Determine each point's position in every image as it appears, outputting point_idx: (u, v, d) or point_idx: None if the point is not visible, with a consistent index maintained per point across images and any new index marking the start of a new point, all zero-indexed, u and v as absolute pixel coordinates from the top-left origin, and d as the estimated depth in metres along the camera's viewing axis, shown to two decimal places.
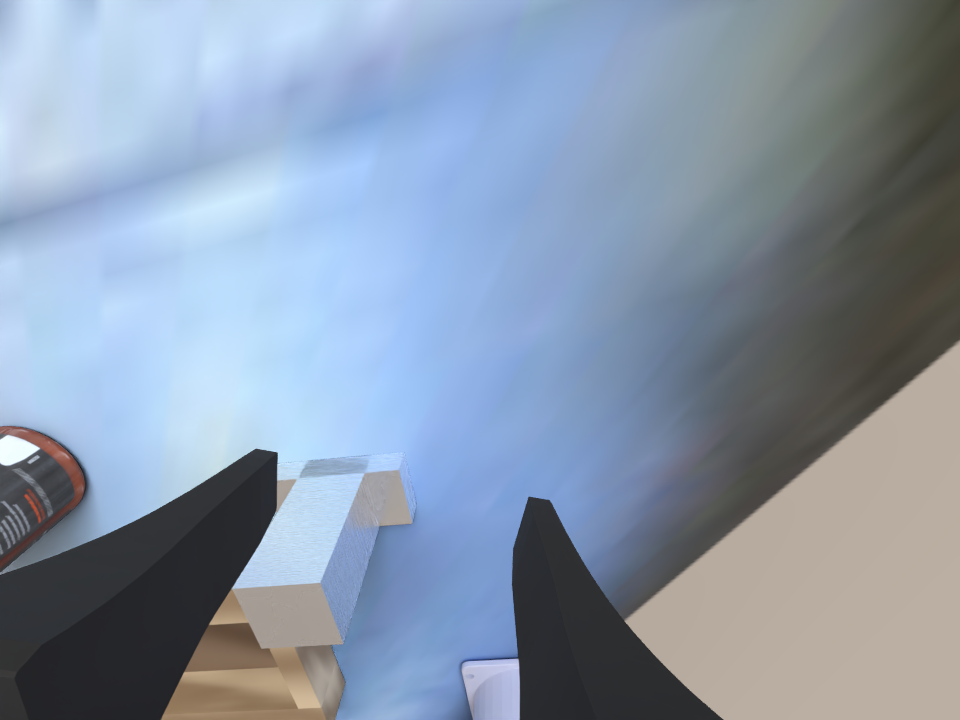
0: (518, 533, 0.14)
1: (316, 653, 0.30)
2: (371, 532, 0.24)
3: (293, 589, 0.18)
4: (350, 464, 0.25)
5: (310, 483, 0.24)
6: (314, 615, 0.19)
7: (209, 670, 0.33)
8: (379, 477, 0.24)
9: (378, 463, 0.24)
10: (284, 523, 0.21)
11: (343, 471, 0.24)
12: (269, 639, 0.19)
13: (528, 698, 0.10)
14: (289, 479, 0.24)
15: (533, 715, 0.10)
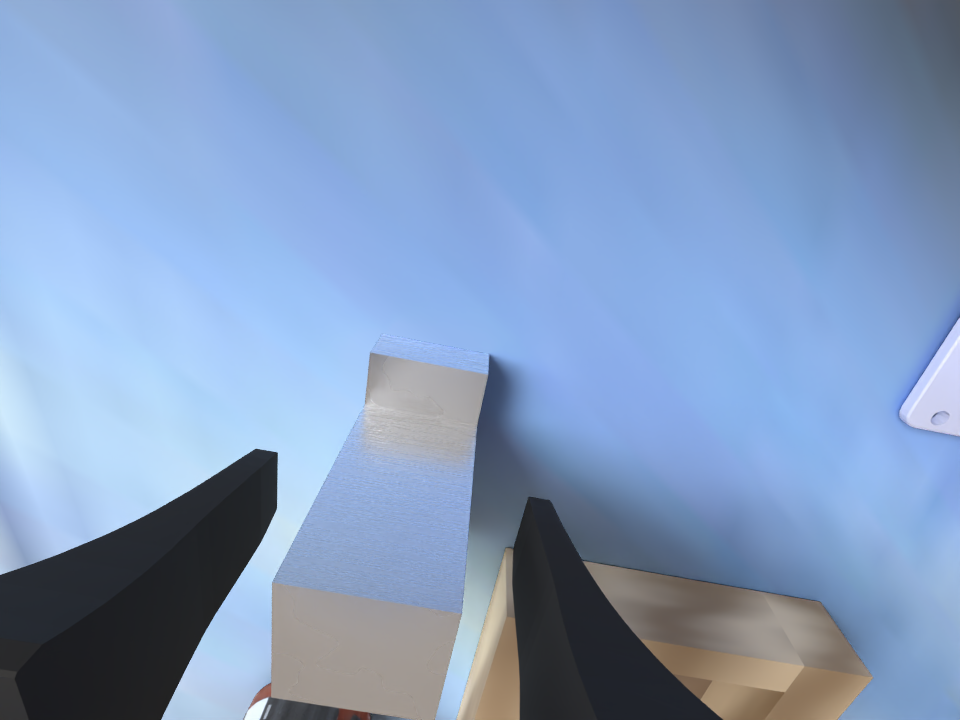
0: (518, 533, 0.14)
1: (705, 614, 0.18)
2: (449, 442, 0.14)
3: (285, 625, 0.09)
4: None
5: None
6: (364, 624, 0.09)
7: None
8: (379, 386, 0.14)
9: None
10: None
11: None
12: (413, 705, 0.10)
13: (528, 698, 0.10)
14: None
15: (533, 715, 0.10)
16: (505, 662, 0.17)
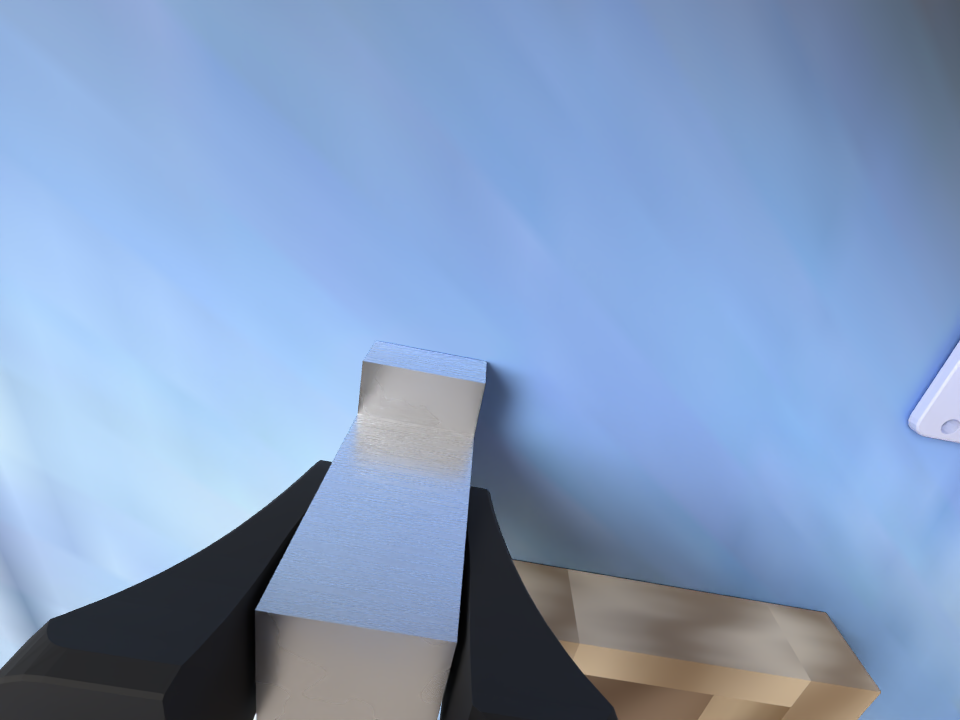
0: None
1: (708, 626, 0.17)
2: (444, 454, 0.13)
3: (269, 654, 0.09)
4: None
5: None
6: (353, 654, 0.08)
7: None
8: (372, 395, 0.14)
9: None
10: None
11: None
12: None
13: (447, 685, 0.10)
14: None
15: (447, 702, 0.10)
16: None
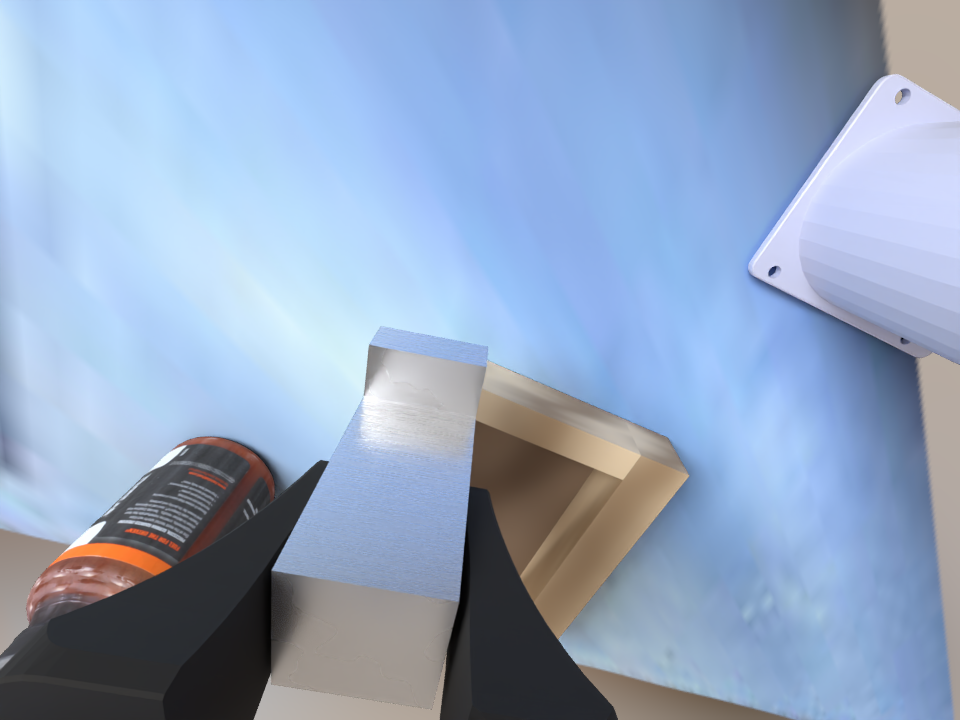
0: None
1: (576, 412, 0.22)
2: (447, 434, 0.14)
3: (284, 612, 0.09)
4: None
5: None
6: (362, 612, 0.09)
7: (539, 544, 0.27)
8: (377, 378, 0.14)
9: None
10: None
11: None
12: (411, 692, 0.10)
13: (447, 685, 0.10)
14: None
15: (447, 702, 0.10)
16: None
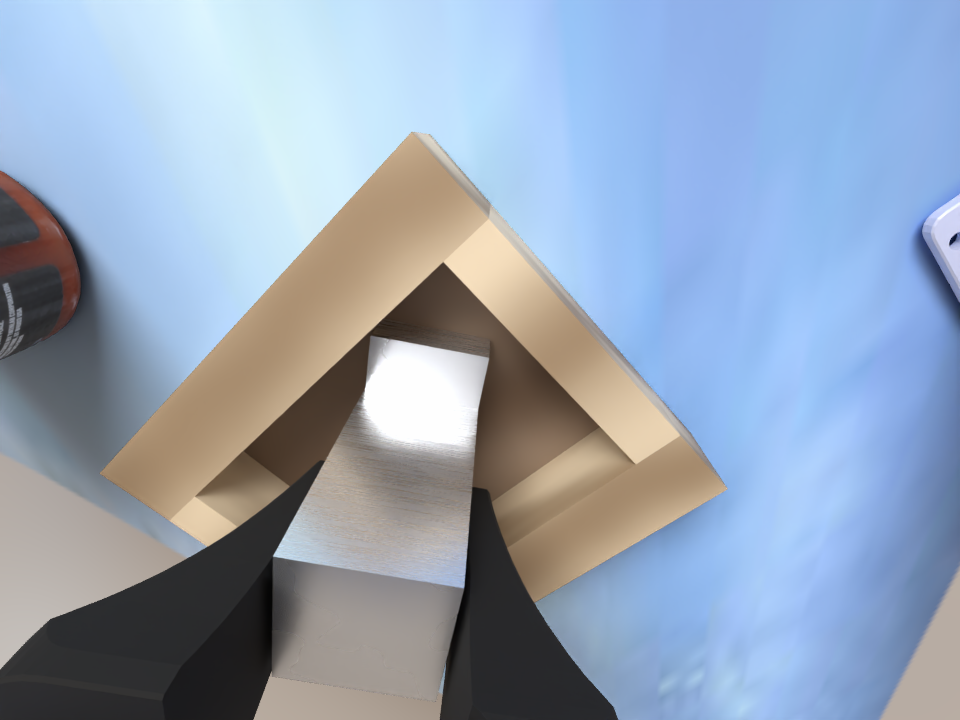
0: None
1: (605, 343, 0.14)
2: (450, 425, 0.13)
3: (285, 601, 0.09)
4: None
5: None
6: (365, 600, 0.09)
7: None
8: (379, 370, 0.14)
9: None
10: None
11: None
12: (415, 684, 0.10)
13: (447, 685, 0.10)
14: None
15: (447, 702, 0.10)
16: (357, 222, 0.11)
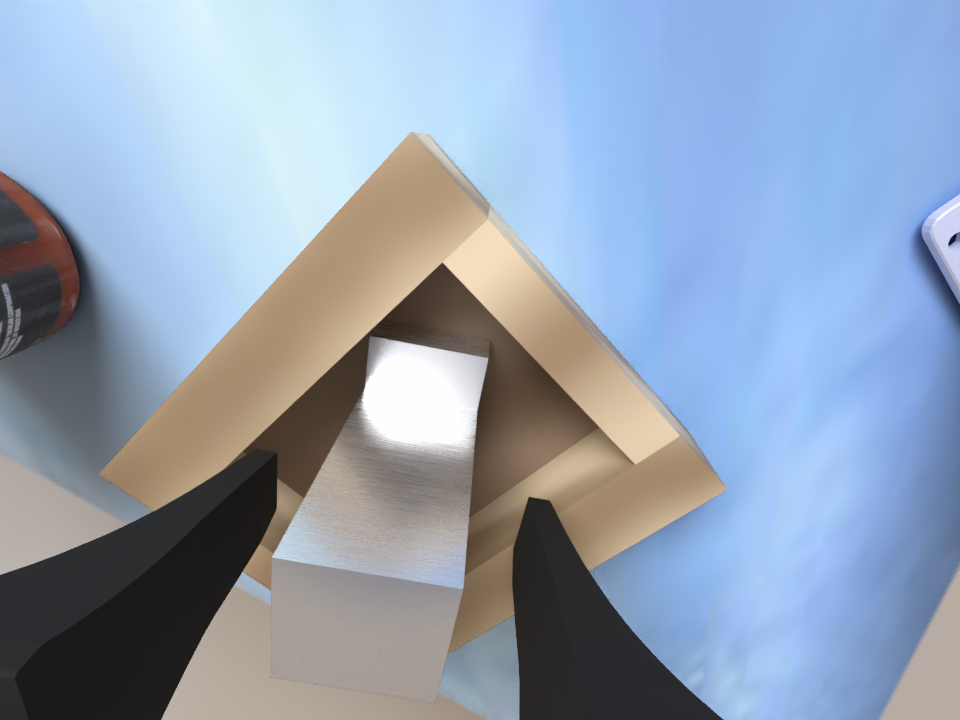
0: (518, 533, 0.14)
1: (605, 343, 0.14)
2: (449, 426, 0.13)
3: (284, 602, 0.09)
4: None
5: None
6: (364, 600, 0.09)
7: None
8: (378, 370, 0.14)
9: None
10: None
11: None
12: (414, 684, 0.10)
13: (528, 698, 0.10)
14: None
15: (533, 715, 0.10)
16: (356, 222, 0.11)
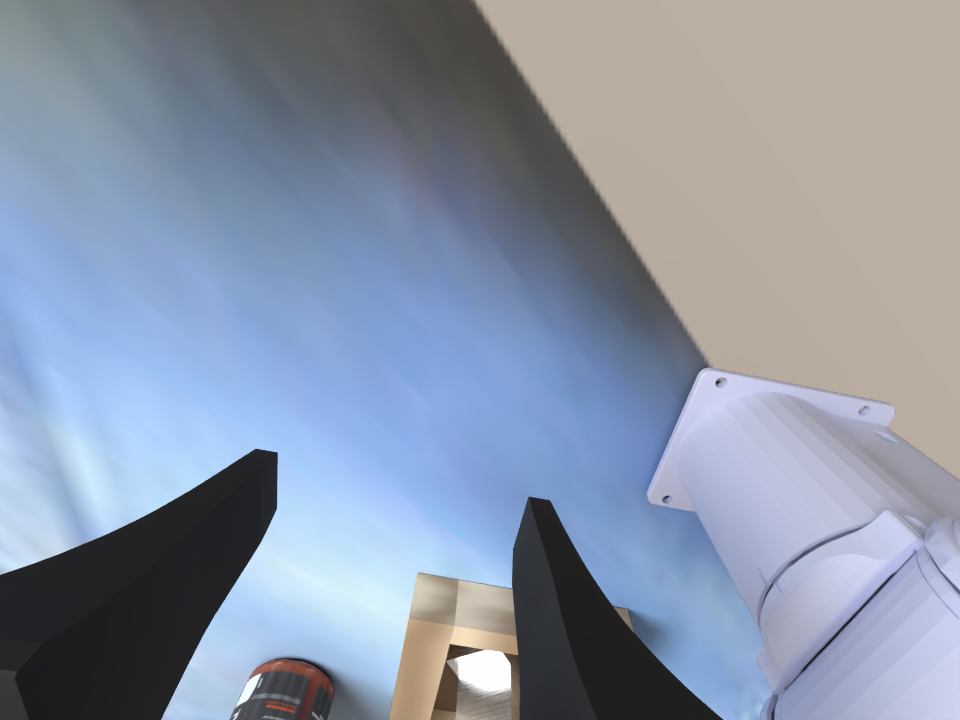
0: (518, 533, 0.14)
1: None
2: (498, 688, 0.28)
3: None
4: None
5: None
6: None
7: None
8: (459, 669, 0.29)
9: None
10: None
11: None
12: None
13: (528, 698, 0.10)
14: None
15: (533, 715, 0.10)
16: (411, 647, 0.27)
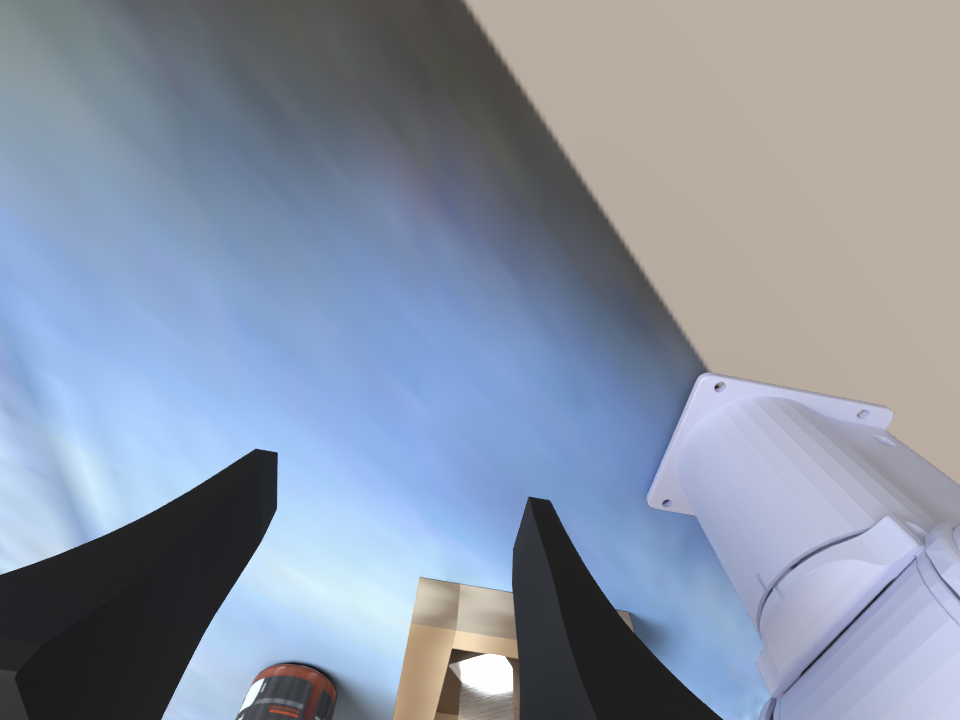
0: (518, 533, 0.14)
1: None
2: (501, 692, 0.28)
3: None
4: None
5: None
6: None
7: None
8: (461, 673, 0.29)
9: None
10: None
11: None
12: None
13: (528, 698, 0.10)
14: None
15: (533, 715, 0.10)
16: (413, 652, 0.27)
